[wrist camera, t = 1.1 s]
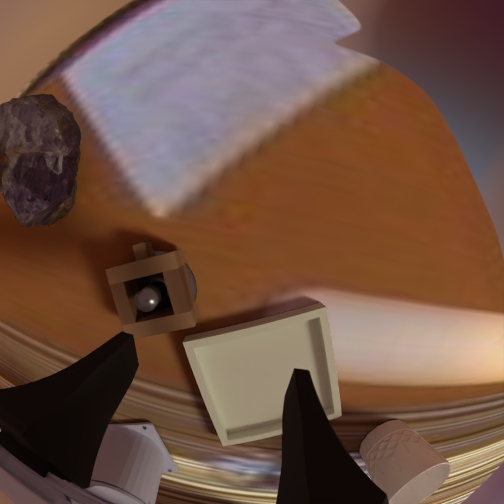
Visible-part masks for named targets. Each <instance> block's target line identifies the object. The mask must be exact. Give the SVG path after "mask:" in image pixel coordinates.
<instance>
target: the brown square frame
mask: <svg viewBox="0 0 504 504" xmlns="http://www.w3.org/2000/svg"><path fill="white" fill-rule="evenodd" d="M132 247H133V251H134V255H135V259H136V260H135V261H132V262H128V263H124V264H120V265H117V266H114V267H111V268H108V269H105V271H106V275H107V278H108V282H109V286H110V289H111V292H112V296H113V299H114V302H115V306H116V309H117V312H118V315H119V318H120V321H121V324H122V327H123V330H124V332H126V333H129V334H133V336H134V339H135V338H141V337H146V336H152V335H157V334H162V333H167V332H172V331H177V330H182V329H187V328H191V327H195V325H196V323H197V320H198V317H199V312H198V309H197V306H196V302H195V299H194V295H193V291H192V288H191V284H190V281H189V277H188V273H187V269H186V266H185V262H184V258H183V254H182V250H181V249H178V250H174V251H170V252H166V253H162V254H158V255H154V251H153V247H152V243H151V241H148V242H143V243H139V244H136V245H132ZM161 272H163V276H164V279H165V283H166V287H167V290H168V294H169V297H170V300H171V304H172V307H167V308H162V309H158V310H153V311H150V312H143V311H141V310H140V309H138V307H137V306H136V304H135V296H136V294H137V293H138V292H139V291H140V290H139V286H138V283H137V278H141V277H145V276H149V275H153V274H157V273H161Z"/></svg>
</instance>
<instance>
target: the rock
mask: <svg viewBox="0 0 504 504" xmlns="http://www.w3.org/2000/svg"><path fill="white" fill-rule="evenodd" d="M80 140H81V132H80V128H79V126H78V124H77V122H76V121H75V119H74V117H73V113H72V112H70V111H68V109H67V107H66V106H64V105H62V104H61V103H59V102H58V101H57V100H56V98H55V97H54V96H53V95H48V94H40V95H31V96H26V97H22V98H13V99H11V100H10V101H9V102H5V103H3V104H1V105H0V192H1V193H2V195H3V196H4V198H5V201H6V202H7V205H8V206H9V207H10V209H11V210H12V211H13V212H14V214H15V218H16V219H17V220H18V221H19V222H20V224H21V225H22V226H24V227H27V228H28V227H29V226H37V227H38V226H39V225H47V226H49V225H51V224H54V223H55V222H56V221H57V220H58V219H60V218H62V217H64V216H65V215H66V214H67V213H68V211H69V210H70V209H71V207H72V206H73V204H74V200H75V194H76V189H77V185H76V179H75V177H76V175H77V174H76V173H77V171H78V162H79V160H80V155H81V153H80V149H79V146H80Z"/></svg>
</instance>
